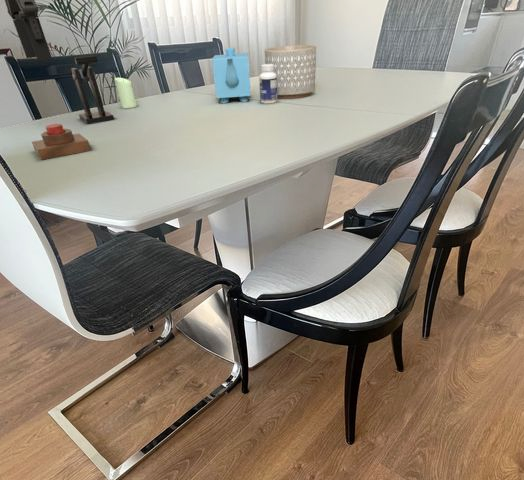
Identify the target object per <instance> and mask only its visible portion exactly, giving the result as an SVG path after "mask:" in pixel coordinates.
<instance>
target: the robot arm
mask: <svg viewBox="0 0 524 480" xmlns="http://www.w3.org/2000/svg"><path fill="white" fill-rule="evenodd" d="M4 3H5V6H6V9H7V13H8V15H9V17H10V18H11V19H12V21H13V25H14V28H15V31H16V32H17V35H18V38H19V41H20V45H21V46H22V49H23V51H24V52H23V53H24V54H25V57H26V59H32V58H36V60H37V61H38V62H44V61H51V60H52V61H53V56H52V53H51V51H50V49H49V48H50V47H49V45H48V41H47V39H46V36H45V33H44V30H43V28H42V24H41V21H40V18H39V7H38V5H37V3H36V1H35V0H4Z"/></svg>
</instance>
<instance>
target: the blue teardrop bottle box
mask: <svg viewBox="0 0 524 480" xmlns="http://www.w3.org/2000/svg"><path fill="white" fill-rule="evenodd" d="M224 51H225V54H216V55H214V56H213V57H212V58H211V64H212V72H213V80H214V89H215V98H216V99H220V102H219V103H220V104H227V103H229V100H230V98H239V101H240V102H249V97H251V96H252V92H251V77H250V62H249V52H242V53H240V52H239V53H235V52H236V48H235V47H226V48H225V49H224Z"/></svg>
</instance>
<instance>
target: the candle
mask: <svg viewBox="0 0 524 480" xmlns="http://www.w3.org/2000/svg"><path fill="white" fill-rule="evenodd" d="M114 83H115V87H116V91H117V95H118V98H119V102H120V106H121V108H122V109H133V108H136V107H137V102H136V97H135V92H134V89H133V84H132V81H131V80H129V79H128V78H124V77H114Z"/></svg>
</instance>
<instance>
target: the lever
mask: <svg viewBox="0 0 524 480" xmlns="http://www.w3.org/2000/svg"><path fill="white" fill-rule="evenodd" d="M74 62H75V65H77V66H81V65H82V66H81V68H78V71H79V75H80V78H81V81H82V83H90V81H89V79H90V77H89V74H88V72H87V71H88V66H89V65H91V64H98V63H99V60H98V57H97V55H88V56H79V57H74ZM89 67H90V66H89Z"/></svg>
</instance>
